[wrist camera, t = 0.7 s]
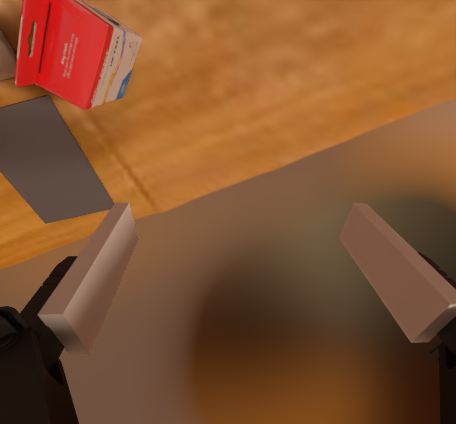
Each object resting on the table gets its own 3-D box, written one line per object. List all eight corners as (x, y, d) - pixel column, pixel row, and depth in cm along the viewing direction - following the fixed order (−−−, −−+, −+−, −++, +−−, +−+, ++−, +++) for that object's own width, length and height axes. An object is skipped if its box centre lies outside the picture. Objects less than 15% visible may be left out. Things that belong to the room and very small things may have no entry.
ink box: (123, 98, 33) (70, 119, 21) (88, 78, 31) (9, 88, 19) (144, 37, 29) (93, 19, 17) (105, 10, 28) (19, -31, 15)
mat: (-42, 119, 34) (-44, 120, 33) (48, 95, 32) (46, 95, 32) (46, 222, 45) (45, 223, 44) (116, 207, 43) (115, 208, 43)
